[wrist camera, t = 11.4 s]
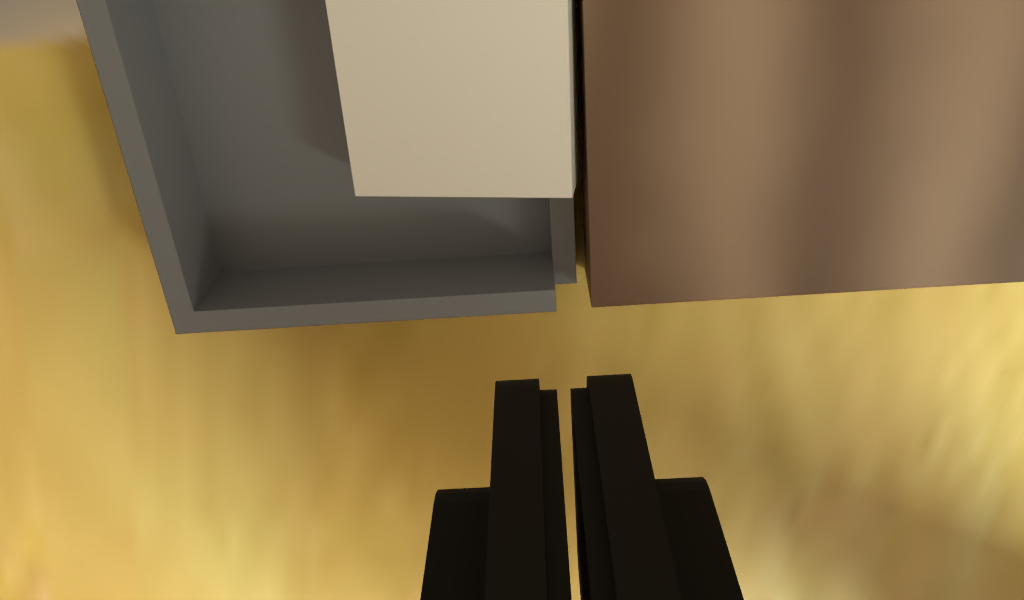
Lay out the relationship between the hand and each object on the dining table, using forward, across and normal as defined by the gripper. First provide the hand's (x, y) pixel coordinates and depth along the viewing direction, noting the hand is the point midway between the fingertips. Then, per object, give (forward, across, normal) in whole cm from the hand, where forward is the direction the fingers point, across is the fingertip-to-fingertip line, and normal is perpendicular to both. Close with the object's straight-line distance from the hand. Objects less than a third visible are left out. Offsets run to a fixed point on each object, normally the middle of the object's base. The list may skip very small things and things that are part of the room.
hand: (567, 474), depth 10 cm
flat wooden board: (+19, -9, -1) cm, 21 cm away
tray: (+19, +6, -1) cm, 20 cm away
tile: (+18, +2, -2) cm, 18 cm away
